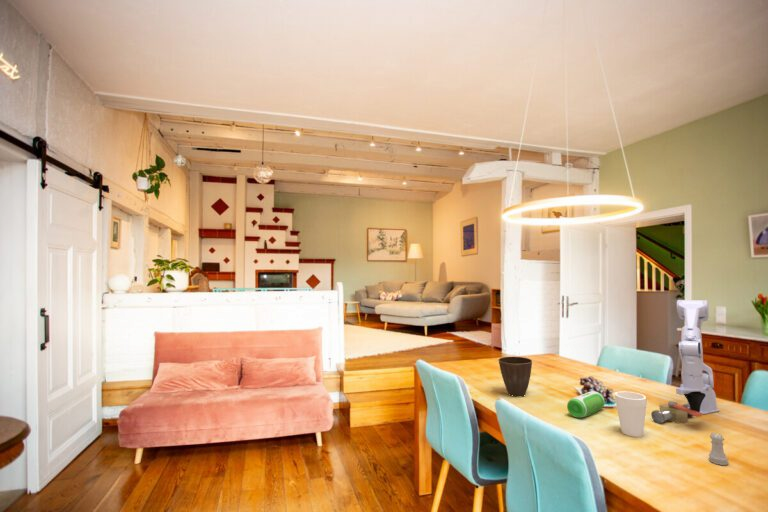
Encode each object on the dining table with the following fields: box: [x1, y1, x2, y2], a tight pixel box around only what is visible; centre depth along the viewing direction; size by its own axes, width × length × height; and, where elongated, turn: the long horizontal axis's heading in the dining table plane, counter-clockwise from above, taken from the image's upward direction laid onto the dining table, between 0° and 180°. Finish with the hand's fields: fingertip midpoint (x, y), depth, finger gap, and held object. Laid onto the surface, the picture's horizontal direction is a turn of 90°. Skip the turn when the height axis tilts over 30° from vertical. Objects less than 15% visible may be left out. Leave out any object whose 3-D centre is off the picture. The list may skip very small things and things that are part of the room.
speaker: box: [566, 390, 606, 419], centre depth 154 cm, size 18×7×8 cm, turn 125°
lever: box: [667, 401, 703, 418], centre depth 140 cm, size 12×3×1 cm, turn 5°
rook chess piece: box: [708, 432, 729, 466], centre depth 113 cm, size 4×4×8 cm
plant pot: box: [498, 356, 533, 397], centre depth 180 cm, size 15×15×16 cm
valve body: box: [650, 403, 694, 424], centre depth 145 cm, size 17×6×5 cm, turn 109°
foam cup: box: [614, 390, 648, 438], centre depth 134 cm, size 10×9×13 cm
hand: (695, 412), depth 137 cm, fingers closed, pressing on lever
